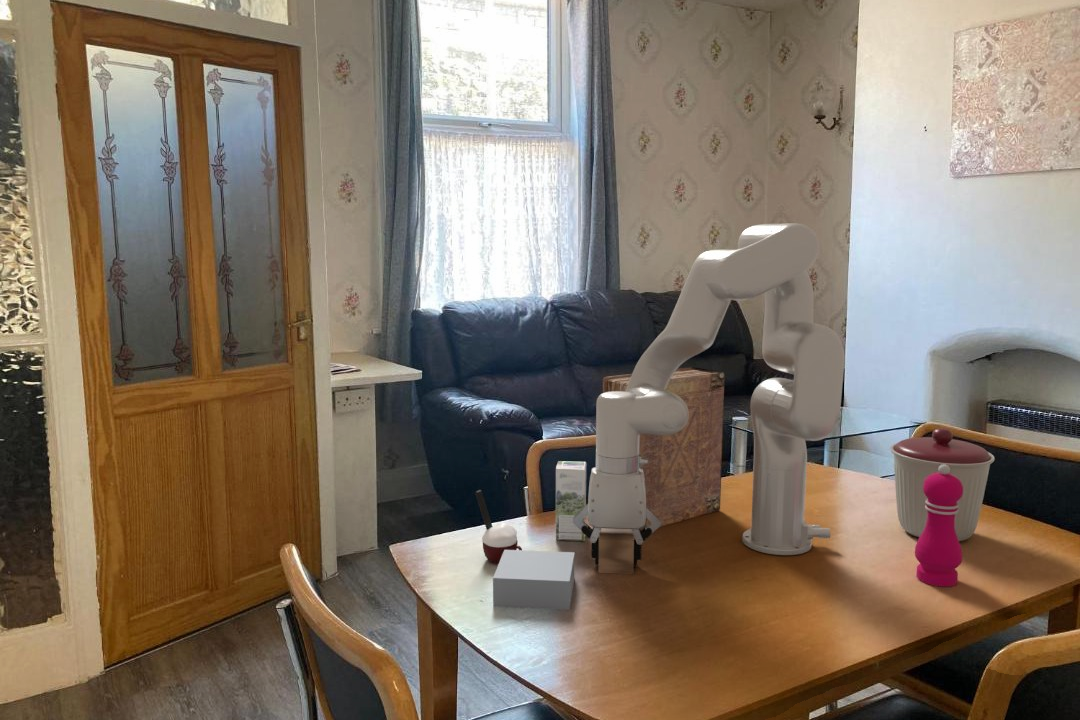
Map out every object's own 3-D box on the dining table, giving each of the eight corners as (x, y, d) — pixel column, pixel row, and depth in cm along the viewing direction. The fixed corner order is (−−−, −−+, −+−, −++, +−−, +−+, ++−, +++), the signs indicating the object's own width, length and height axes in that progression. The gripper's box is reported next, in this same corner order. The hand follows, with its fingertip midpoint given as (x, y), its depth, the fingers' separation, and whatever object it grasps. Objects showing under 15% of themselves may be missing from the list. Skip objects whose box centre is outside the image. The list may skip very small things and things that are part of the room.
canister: (886, 542, 155) (892, 434, 152) (884, 513, 171) (890, 415, 168) (994, 556, 148) (1003, 443, 145) (981, 524, 164) (989, 422, 161)
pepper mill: (941, 591, 133) (950, 472, 130) (903, 575, 139) (911, 462, 136) (970, 583, 136) (978, 467, 133) (931, 568, 143) (939, 457, 140)
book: (629, 534, 159) (631, 383, 155) (600, 521, 167) (601, 377, 163) (720, 510, 173) (724, 371, 169) (689, 499, 181) (693, 366, 177)
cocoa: (527, 565, 145) (530, 501, 143) (497, 572, 141) (500, 506, 139) (498, 547, 153) (501, 486, 151) (469, 553, 149) (472, 490, 147)
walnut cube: (633, 560, 146) (633, 528, 145) (633, 574, 140) (633, 540, 139) (599, 559, 147) (600, 527, 146) (598, 572, 141) (598, 539, 140)
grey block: (574, 580, 138) (574, 552, 138) (569, 611, 127) (569, 581, 126) (504, 577, 140) (504, 549, 139) (493, 608, 128) (492, 577, 127)
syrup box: (586, 531, 161) (586, 460, 159) (585, 542, 155) (585, 468, 153) (557, 530, 161) (557, 459, 159) (555, 541, 156) (555, 467, 154)
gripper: (666, 459, 144) (664, 556, 146) (569, 456, 145) (568, 552, 148) (668, 470, 136) (666, 573, 139) (566, 467, 138) (565, 569, 141)
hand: (616, 561), depth 143 cm, fingers closed on walnut cube, 6 cm apart
